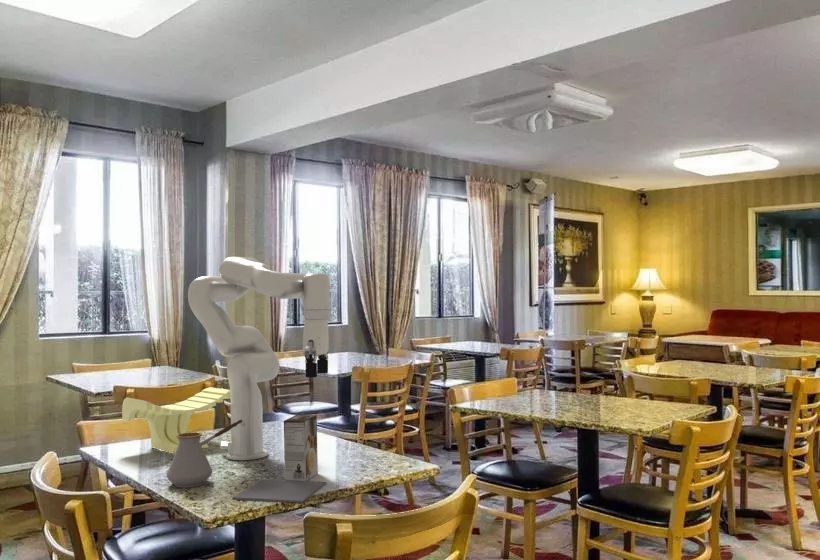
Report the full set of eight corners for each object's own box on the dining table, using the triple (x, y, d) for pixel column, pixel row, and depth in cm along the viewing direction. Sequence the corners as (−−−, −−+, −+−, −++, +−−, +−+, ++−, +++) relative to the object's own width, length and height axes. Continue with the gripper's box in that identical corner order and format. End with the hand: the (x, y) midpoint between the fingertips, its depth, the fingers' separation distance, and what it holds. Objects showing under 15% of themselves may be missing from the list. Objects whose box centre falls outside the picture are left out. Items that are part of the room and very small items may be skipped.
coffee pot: (176, 492, 174) (175, 432, 174) (160, 483, 183) (159, 426, 183) (253, 477, 187) (253, 421, 188) (235, 469, 196) (235, 416, 196)
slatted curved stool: (205, 437, 244) (204, 386, 245) (230, 442, 234) (230, 390, 234) (122, 452, 222) (122, 396, 222) (146, 459, 211) (146, 400, 212)
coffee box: (296, 472, 192) (295, 414, 192) (318, 473, 190) (317, 414, 191) (283, 481, 183) (283, 420, 183) (306, 481, 181) (306, 420, 182)
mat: (232, 499, 167) (232, 497, 167) (262, 480, 183) (262, 479, 183) (302, 502, 163) (302, 500, 163) (326, 483, 179) (326, 481, 179)
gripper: (314, 315, 209) (314, 371, 208) (293, 317, 192) (293, 378, 192) (338, 315, 207) (338, 372, 207) (319, 317, 190) (319, 379, 190)
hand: (317, 375), depth 199 cm, fingers open, 9 cm apart
